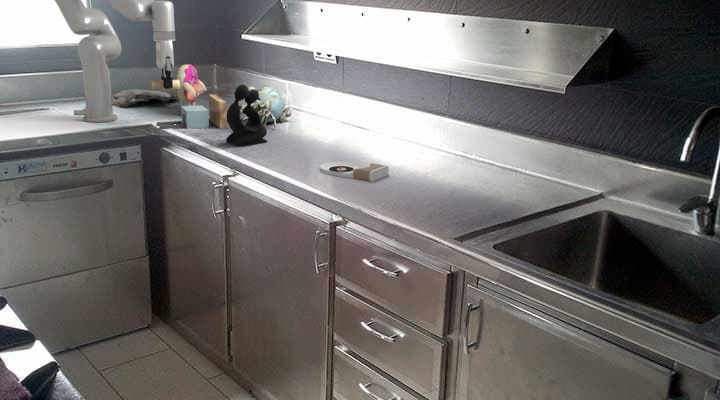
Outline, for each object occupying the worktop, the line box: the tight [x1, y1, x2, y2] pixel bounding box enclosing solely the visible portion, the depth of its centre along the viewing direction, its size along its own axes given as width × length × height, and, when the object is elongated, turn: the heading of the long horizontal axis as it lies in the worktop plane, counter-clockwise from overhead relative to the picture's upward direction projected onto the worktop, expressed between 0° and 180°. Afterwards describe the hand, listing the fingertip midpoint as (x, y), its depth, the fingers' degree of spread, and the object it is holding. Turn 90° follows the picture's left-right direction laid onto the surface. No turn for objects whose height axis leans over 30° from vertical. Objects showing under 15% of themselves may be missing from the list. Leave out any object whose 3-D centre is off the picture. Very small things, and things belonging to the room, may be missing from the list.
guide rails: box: [156, 120, 186, 130], centre depth 259 cm, size 9×7×1 cm
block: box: [180, 104, 210, 129], centre depth 262 cm, size 8×11×6 cm
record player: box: [319, 161, 390, 182], centre depth 205 cm, size 12×3×20 cm
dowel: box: [149, 79, 180, 91], centre depth 254 cm, size 10×4×4 cm
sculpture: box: [238, 85, 293, 129], centre depth 266 cm, size 20×18×30 cm
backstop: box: [208, 93, 228, 130], centre depth 265 cm, size 2×18×10 cm, turn 24°
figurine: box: [225, 84, 268, 147], centre depth 235 cm, size 14×9×20 cm, turn 134°
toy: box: [175, 63, 207, 116], centre depth 283 cm, size 25×9×20 cm, turn 179°
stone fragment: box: [112, 88, 181, 109], centre depth 304 cm, size 26×29×6 cm
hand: (167, 86), depth 255 cm, fingers closed on dowel, 3 cm apart
